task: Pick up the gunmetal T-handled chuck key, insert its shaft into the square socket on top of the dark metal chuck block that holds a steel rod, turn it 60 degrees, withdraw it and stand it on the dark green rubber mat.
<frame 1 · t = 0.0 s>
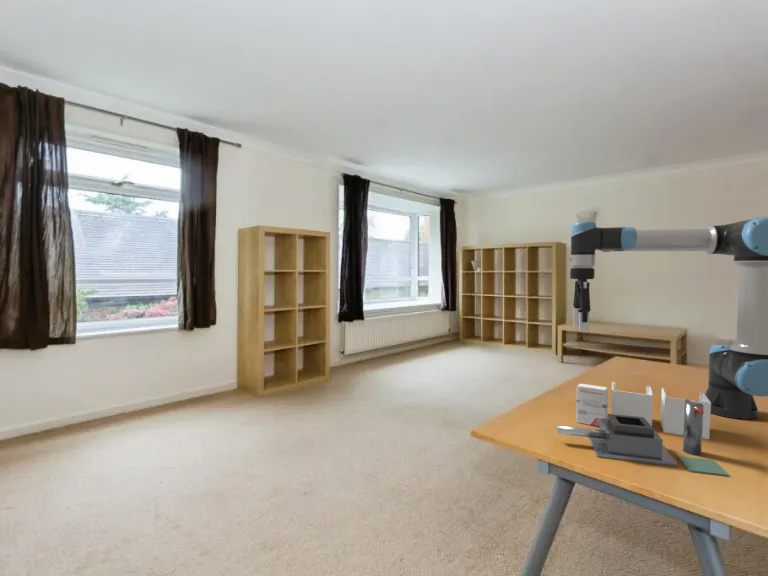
hand: (580, 329, 145), 28 cm above the table, fingers open, 13 cm apart
rubber mat: (701, 466, 105), on the table
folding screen: (656, 426, 132), on the table
ink box: (591, 423, 134), on the table
chuck block: (628, 450, 114), on the table
chuck key: (691, 452, 113), on the table
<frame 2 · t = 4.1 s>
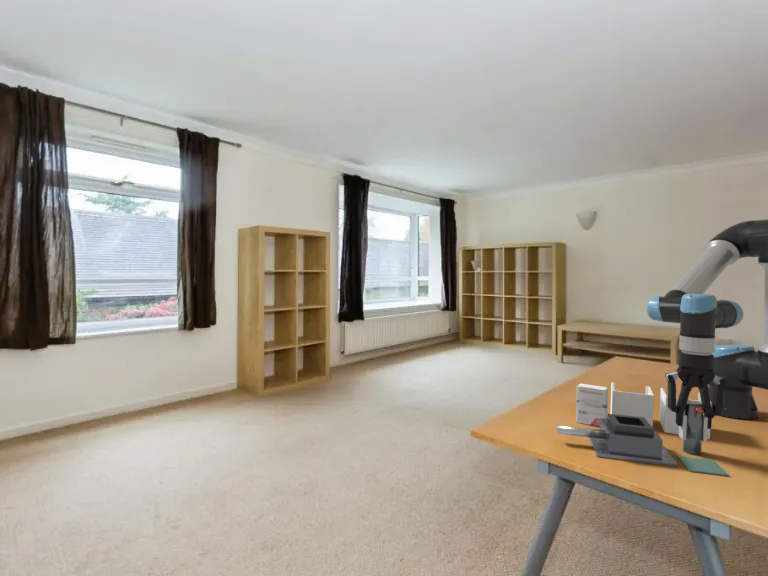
hand: (692, 438, 113), 4 cm above the table, fingers closed on chuck key, 4 cm apart
chuck key: (691, 451, 113), on the table, touching gripper
everything else where it was.
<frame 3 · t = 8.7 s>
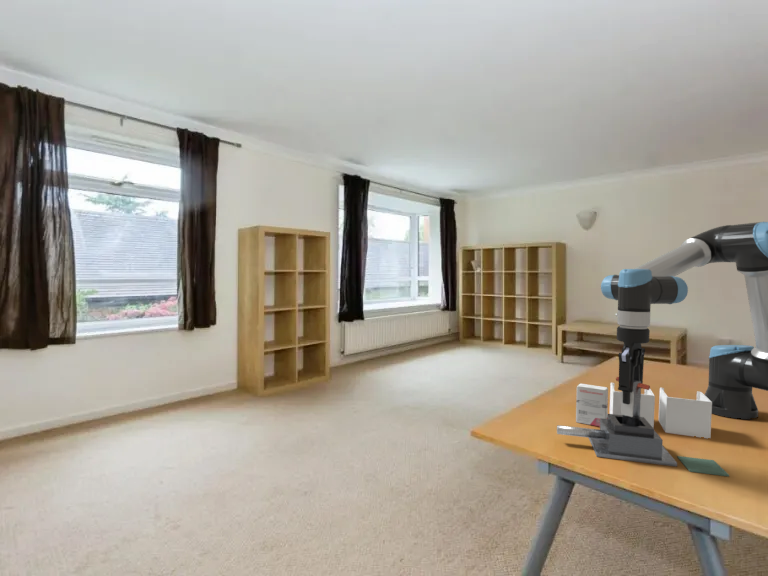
hand: (629, 413, 113), 10 cm above the table, fingers closed on chuck key, 4 cm apart
chuck key: (630, 428, 113), point 6 cm above the table, touching chuck block, gripper
everything else where it was.
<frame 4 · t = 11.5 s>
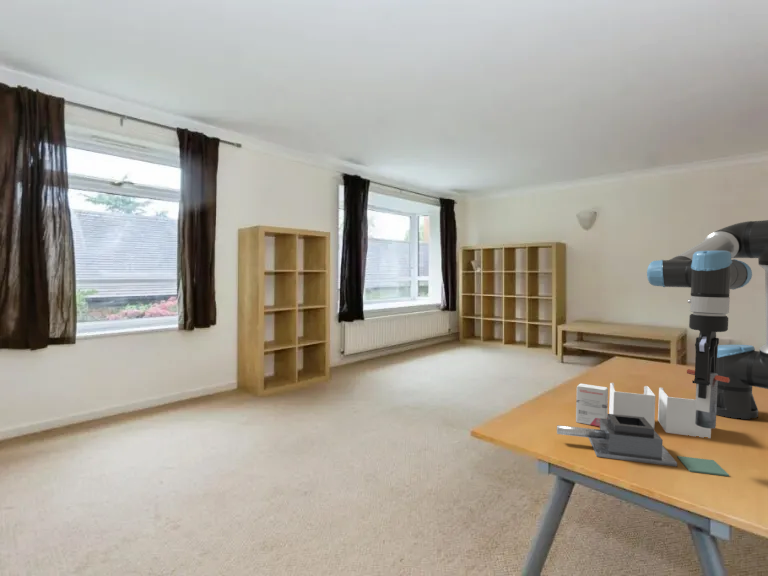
hand: (704, 408, 104), 15 cm above the table, fingers closed on chuck key, 4 cm apart
chuck key: (705, 425, 104), point 11 cm above the table, touching gripper
everything else where it was.
when the fingers open (5 cm above the table, at t = 13.4 s): chuck key stays where it is, resting on rubber mat.
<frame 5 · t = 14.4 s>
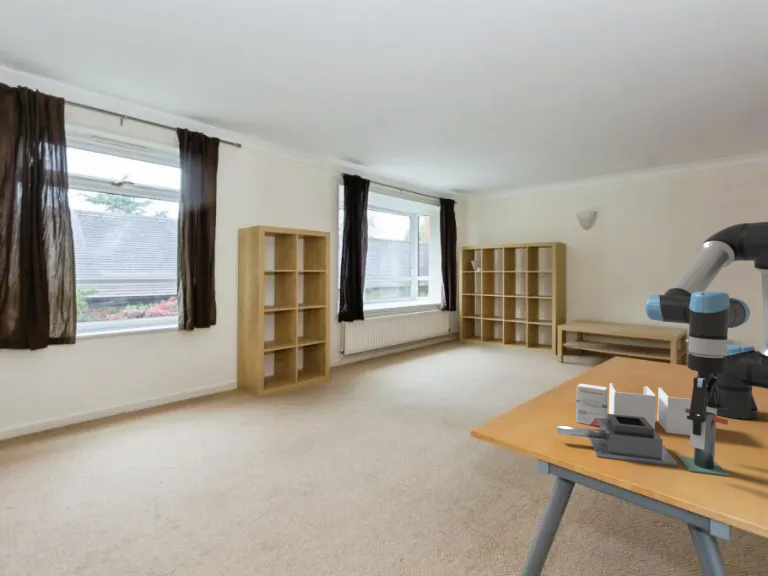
hand: (703, 439, 104), 7 cm above the table, fingers open, 13 cm apart
chuck key: (703, 465, 104), resting on rubber mat
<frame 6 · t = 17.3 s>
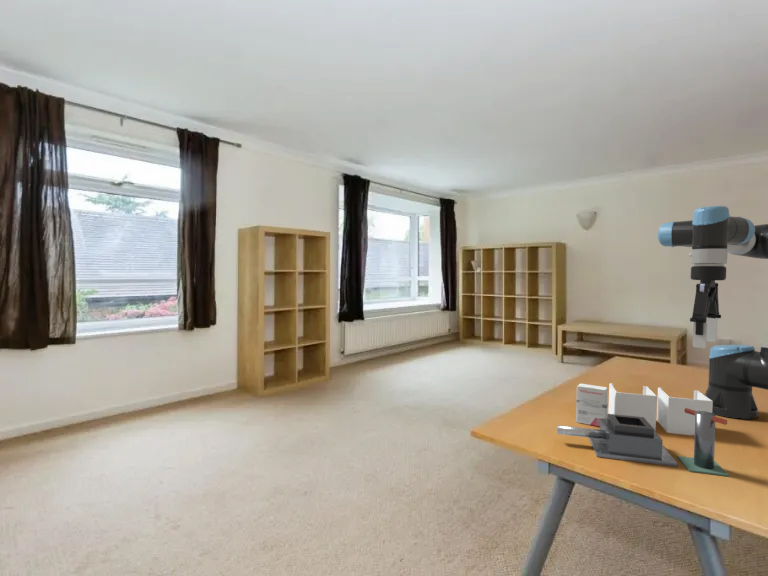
hand: (704, 344, 113), 29 cm above the table, fingers open, 13 cm apart
at the end: chuck key inside the target area on the rubber mat (0.3 cm from its centre), point 0.4 cm above the rubber mat's base; chuck key tilted 1°; the gripper is holding nothing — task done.
